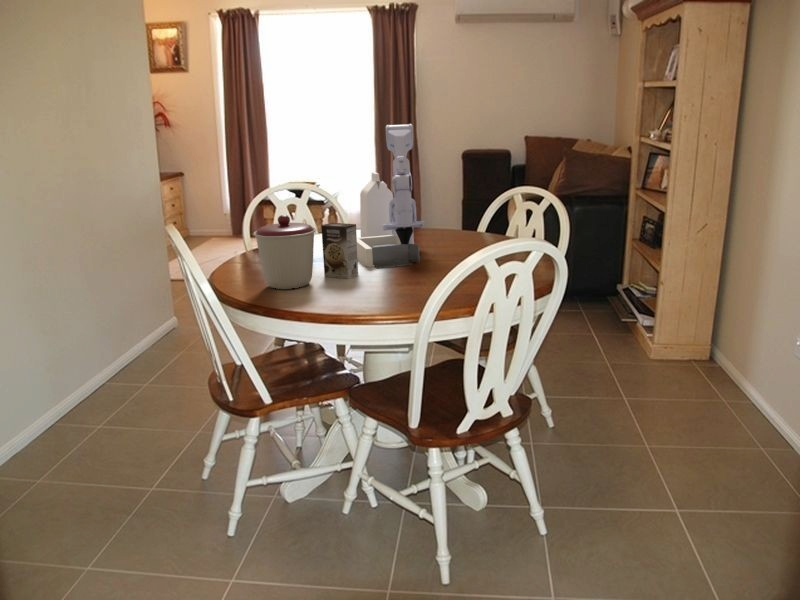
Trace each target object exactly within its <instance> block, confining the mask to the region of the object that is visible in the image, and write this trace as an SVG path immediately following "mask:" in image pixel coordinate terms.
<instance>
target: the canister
mask: <svg viewBox="0 0 800 600" xmlns="http://www.w3.org/2000/svg"><path fill="white" fill-rule="evenodd" d="M277 222H278V223H272V224H267V225H264V226H261V227H259V228H258V229H257V230H256V231H254V232H253V236H254V237H255V240H256V244H257V245H256V246H257V250H258V254H259V258H260V263H261V268H262V271H263V277H264V281H265V282H266V284H267V285H268V286H269V287H270V288H271V289H275V288H276V289H275V290H292V288H295V289H299V287H300V288H303V287H305V286H307V285H309V284H310V282H311V280H312V277H313V268H314V266H313V265H314V264H313V263H314V242H315V240H314V239H315V233H316V231H317V228H315V227H314V226H312V225H310V224H308V223H302V222H291V218H290V217H289V215H286V214H281V215H279V216H278V217H277Z"/></svg>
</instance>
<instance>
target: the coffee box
mask: <svg viewBox="0 0 800 600" xmlns="http://www.w3.org/2000/svg"><path fill="white" fill-rule="evenodd" d="M320 226H321V227H320V228H321V243H322V257H323V258H322V259H323V271H324V272H323V274H324V277H326V276H330V277H329V278H336V277H338V278H339V279H340V278H341V279H347V278H348V279H347V280H349V279H352V278H353V276H354V277H356V276H359V262H358V261H359V260H358V258H357V238H358V237H357V223H346V222H344V223H343V222H341V223H340V222H331V223H326V224H321V225H320Z"/></svg>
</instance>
